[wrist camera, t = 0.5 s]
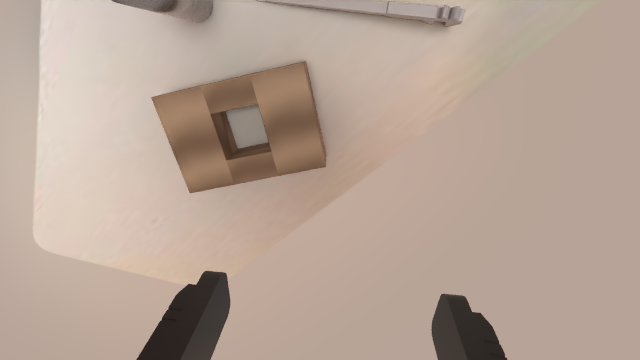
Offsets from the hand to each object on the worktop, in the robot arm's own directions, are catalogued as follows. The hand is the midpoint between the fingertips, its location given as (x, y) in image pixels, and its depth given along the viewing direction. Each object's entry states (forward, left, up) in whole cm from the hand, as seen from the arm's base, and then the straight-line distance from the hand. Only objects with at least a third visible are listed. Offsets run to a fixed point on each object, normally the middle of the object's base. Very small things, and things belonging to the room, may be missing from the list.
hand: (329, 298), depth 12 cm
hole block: (-3, -9, -28) cm, 29 cm away
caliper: (-12, +5, -28) cm, 31 cm away
